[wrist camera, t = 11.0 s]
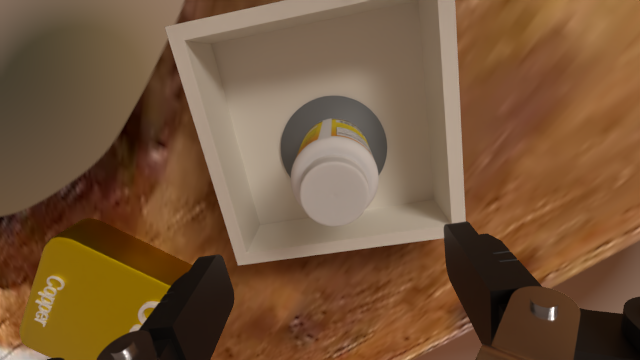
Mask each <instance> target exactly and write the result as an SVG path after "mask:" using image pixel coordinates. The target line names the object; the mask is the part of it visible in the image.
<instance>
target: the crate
mask: <svg viewBox="0 0 640 360" xmlns="http://www.w3.org/2000/svg"><path fill="white" fill-rule="evenodd" d="M165 30H166V33H167V36H168V39H169V43H170V46H171V49H172V52H173V56H174V59H175V62H176V65H177V69H178V72H179V75H180V78H181V82H182V85H183V88H184V91H185V95H186V98H187V101H188V104H189V108H190V111H191V114H192V117H193V121H194V124H195V127H196V130H197V134H198V137H199V140H200V143H201V147H202V150H203V153H204V156H205V160H206V163H207V166H208V169H209V173H210V176H211V179H212V182H213V186H214V189H215V192H216V195H217V199H218V202H219V205H220V208H221V212H222V215H223V218H224V221H225V225H226V228H227V231H228V234H229V238H230V241H231V244H232V247H233V251H234V254H235V257H236V260H237V264H238V265H246V264H253V263H261V262H268V261H276V260H283V259H291V258H298V257H306V256H313V255H320V254H328V253H335V252H343V251H350V250H358V249H365V248H373V247H380V246H388V245H395V244H403V243H410V242H418V241H425V240H433V239H440V238H444V225H445V224H451V223H459V222H466V220H465V199H464V178H463V157H462V136H461V115H460V94H459V74H458V53H457V32H456V11H455V0H284V1H280V2H275V3H271V4H266V5H262V6H257V7H252V8H248V9H243V10H239V11H234V12H230V13H225V14H221V15H216V16H212V17H207V18H202V19H198V20H193V21H189V22H184V23H180V24H175V25H171V26H166V27H165ZM331 118H338V119H344V120H347V121H349V122H351V123H353V124H354V125H356V126H357V127H358V128H359V129H360V130H361V131H362V133H363V134H364V136H365V138H366V140H367V143H368V145H369V148H370V150H371V153H372V155H373V157H374V160H375V163H376V165H377V169H378V175H379V183H378V188H377V192H376V195H375V197H374V199H373V200H372V202H371V203H370V205H369V206H368V207H367V208H366V209H365V211H364V212H363V214H362V215H361V216H360V217H359V218H358V219H356V220H355V221H353V222H352V223H350V224H347V225H344V226H338V227H331V226H325V225H322V224H319V223H317V222H316V221H314V220H313V219H311V218H310V217H309V216H308V215H307V214H306V212H305V211H304V209H303V208H302V207H301V205H300V204H299V203H298V202H297V200H296V198H295V196H294V194H293V191H292V187H291V171H292V167H293V164H294V161H295V159H296V156H297V154H298V152H299V149H300V147H301V144H302V141H303V139H304V137H305V135H306V133H307V132H308V131H309V130H310V129H311V128H312V127H313V126H314V125H315V124H317V123H319V122H320V121H323V120H326V119H331Z"/></svg>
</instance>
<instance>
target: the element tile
mask: <svg viewBox="0 0 640 360" xmlns="http://www.w3.org/2000/svg"><path fill="white" fill-rule="evenodd" d="M192 266H193V265H191V264H189V263H187V262H185V261H183V260H180V259H178V258H176V257H174V256H172V255H170V254H168V253H166V252H164V251H162V250H160V249H158V248H156V247H154V246H152V245H150V244H148V243H145V242H143V241H141V240H139V239H137V238H135V237H133V236H131V235H129V234H127V233H125V232H123V231H121V230H119V229H117V228H115V227H113V226H110V225H108V224H106V223H104V222H102V221H100V220H97V219H91V218H87V219H83V220H80V221H79V222H77V223H76V224H74V225H72V226H71V227H69V228H67V229H66V230H64V231H63V232H61V233H59V234H58V235H56V236H54V237H53V238H52V239H51V240H49V241H48V242H47V244H46V245H45V247H44V250H43V253H42V256H41V260H40V263H39V266H38V269H37V273H36V276H35V279H34V283H33V286H32V289H31V292H30V296H29V299H28V302H27V305H26V309H25V312H24V315H23V319H22V322H21V325H20V330H19V333H20V337H21V340H22V343H23V344H24V345H26V346H27V347H29V348H31V349H33V350H35V351H37V352H39V353H41V354H44V355H46V356H48V357H51V358H57V357H60V358H63V359H65V360H97V357H98V356H99V354H100V353H101V352H102V350H103V349H104V348H105V347H106V346H108V345H109V344H110V343H111V342H113V341H114V340H116V339H117V338H119V337H121V336H123V335H125V334H127V333H130V332H133V331H138V330H139V329H140V327H141V326H142V325H143V323H144V322H145V321H146V319H147V318H148V317H149V315H150V314H151V312H152V311H153V310H154V308H155V307H156V306H157V304H158V303H160V300H161V299H162V298H163V296H164V295H165V294H167V293H166V292H167V291H168V289H169V288H170V287H171V285H172V284H173V283H174V282H175V281H176V280H177V279H178V278H180V277H181V276H182V275H183V274H185V273H186V272H188V271H189V270H190V269H191V267H192Z"/></svg>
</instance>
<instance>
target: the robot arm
mask: <svg viewBox="0 0 640 360" xmlns="http://www.w3.org/2000/svg"><path fill="white" fill-rule="evenodd" d="M444 243H445V258H446V268H447V272H448V276H449V279H450V282H451V284H452V286H453V288H454V290H455V292H456V294H457V296H458V298H459V300H460V302H461V304H462V306H463V308H464V309H465V311H466V313H467V315H468V317H469V319H470V321H471V323H472V325H473V327H474V329H475V331H476V333H477V335H478V337H479V339H480V341H481V343H482V346H481V348H480V350H479V352H478V354H477V357H476V359H475V360H640V297H636V298H632V299H630V300H628V301H627V302H626V303H625V305H624V309H623V314H618V313H609V312H599V311H592V310H585V309H581V308H579V307H578V305H577V304H576V303H575V302H574V301H573V300H572V299H571V298H570V297H568V296H566V295H565V294H563V293H561V292H559V291H556V290H553V289H550V288H546V287H542V286H541V285H540V284H539V283H538V281H537V280H536V279H535V278H534V277H533V276H532V275H531V274H530V273H529V271H528V270H527V269H526V268H525V267H524V266H523V265H522V264H521V262H520V261H519V260H517V258H516V257H515V256H514V255H513V254H512V252H510V251H509V249H508V248H507V247H506V246H505V245H504V244H503V242H502V241H500V240H499V239H497V238H495V237H493V236H491V235H489V234H480V235H478V233H477V232H476V231H475V230H474V228H473V227H472V226H471V225H470V223H469V222H467V221H466V222H459V223H451V224H445V225H444ZM166 293H167V294H165V295H164V296H163V298H162V299H161V300H160V303H158V304H157V306H156V307H155V308H154V310H153V311H152V312H151V314H150V315H149V317H148V318H147V319H146V321H145V322H144V323H143V325H142V326H141V327H140V329H139V330H138V331H133V332H130V333H127V334H125V335H123V336H121V337H119V338H117V339H116V340H114V341H113V342H111V343H110V344H109V345H108V346H106V347H105V348H104V349H103V350H102V352H101V353H100V354H99V356H98V357H97V360H210V359H211V357H212V354H213V352H214V350H215V347H216V345H217V343H218V340H219V338H220V336H221V333H222V331H223V329H224V326H225V324H226V322H227V319H228V317H229V315H230V312H231V310H232V307H233V304H234V291H233V287H232V284H231V281H230V278H229V275H228V272H227V268H226V265H225V262H224V259H223V257H222V256H221V255H211V256H204V257H199V258H198V259H197V260H196V261H195V263H194V264H193V266H192V267H191V269H190V270H189V271H188V272H186V273H185V274H183V275H182V276H181V277H180V278H178V279H177V280H176V281H175V282H174V283H173V284H172V285H171V287H170V288H169V289H168V291H167V292H166ZM47 360H65V359H63V358H60V357H57V358H51V359H47Z"/></svg>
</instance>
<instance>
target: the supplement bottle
mask: <svg viewBox="0 0 640 360" xmlns="http://www.w3.org/2000/svg"><path fill="white" fill-rule="evenodd" d="M378 183H379V175H378V169H377V165H376V163H375V160H374V157H373V155H372V153H371V150H370V148H369V145H368V143H367V140H366V138H365V136H364V134H363V133H362V131H361V130H360V129H359V128H358V127H357V126H356V125H354V124H353V123H351V122H349V121H347V120H344V119H338V118H331V119H326V120H323V121H320V122H319V123H317V124H315V125H314V126H313V127H312V128H311V129H310V130H309V131H308V132H307V133H306V135H305V137H304V139H303V141H302V144H301V147H300V149H299V152H298V154H297V156H296V159H295V161H294V164H293V167H292V171H291V187H292V191H293V194H294V196H295V198H296V200H297V202H298V203H299V204H300V205H301V207H302V208H303V209H304V211H305V212H306V214H307V215H308V216H309V217H310V218H311V219H313V220H314V221H316V222H317V223H319V224H322V225H325V226H331V227H338V226H344V225H347V224H350V223H352V222H353V221H355V220H356V219H358V218H359V217H360V216H361V215H362V214H363V212H364V211H365V209H366V208H367V207H368V206H369V205H370V203H371V202H372V200H373V199H374V197H375V195H376V192H377V188H378Z"/></svg>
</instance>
